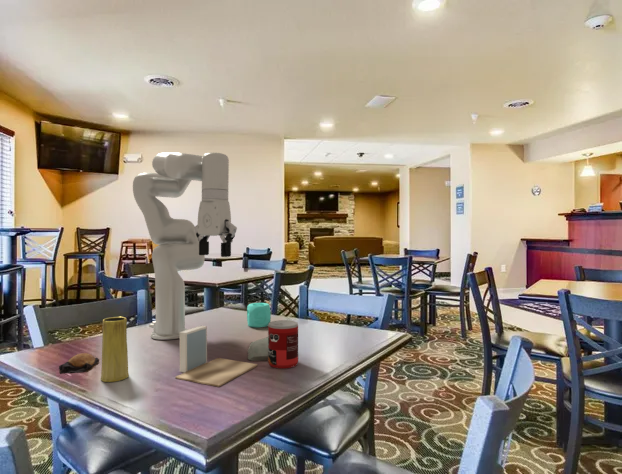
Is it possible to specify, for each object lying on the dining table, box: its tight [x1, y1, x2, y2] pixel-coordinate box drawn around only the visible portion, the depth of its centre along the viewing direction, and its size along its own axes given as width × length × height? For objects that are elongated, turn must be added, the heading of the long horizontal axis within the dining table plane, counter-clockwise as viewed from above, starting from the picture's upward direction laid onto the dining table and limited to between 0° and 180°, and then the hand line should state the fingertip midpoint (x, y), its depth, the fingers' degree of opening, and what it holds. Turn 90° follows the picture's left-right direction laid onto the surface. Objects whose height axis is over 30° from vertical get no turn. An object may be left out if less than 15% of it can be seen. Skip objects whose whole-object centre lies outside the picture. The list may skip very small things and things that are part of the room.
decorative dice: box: [246, 302, 272, 329], centre depth 151 cm, size 8×8×8 cm
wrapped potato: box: [58, 352, 100, 375], centre depth 104 cm, size 11×8×4 cm
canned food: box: [267, 319, 299, 369], centre depth 105 cm, size 8×8×11 cm
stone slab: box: [247, 336, 268, 362], centre depth 120 cm, size 22×3×10 cm
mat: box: [175, 357, 258, 387], centre depth 100 cm, size 13×16×1 cm
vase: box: [100, 316, 130, 383], centre depth 96 cm, size 6×6×14 cm
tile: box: [179, 325, 208, 373], centre depth 103 cm, size 2×8×10 cm, turn 155°
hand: (214, 255), depth 114 cm, fingers open, 9 cm apart
